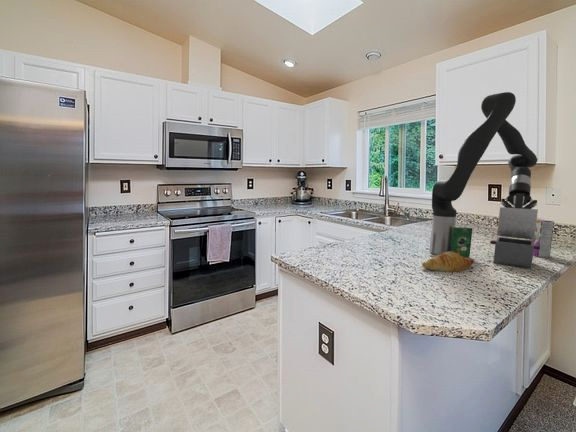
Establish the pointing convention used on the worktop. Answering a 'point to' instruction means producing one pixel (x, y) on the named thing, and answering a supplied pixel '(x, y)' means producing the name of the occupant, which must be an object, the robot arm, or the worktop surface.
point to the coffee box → (461, 241)
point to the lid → (517, 220)
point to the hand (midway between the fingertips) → (517, 218)
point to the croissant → (448, 262)
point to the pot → (514, 252)
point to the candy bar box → (543, 237)
